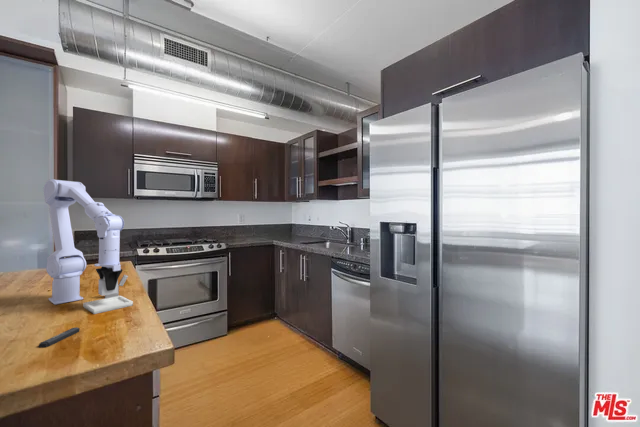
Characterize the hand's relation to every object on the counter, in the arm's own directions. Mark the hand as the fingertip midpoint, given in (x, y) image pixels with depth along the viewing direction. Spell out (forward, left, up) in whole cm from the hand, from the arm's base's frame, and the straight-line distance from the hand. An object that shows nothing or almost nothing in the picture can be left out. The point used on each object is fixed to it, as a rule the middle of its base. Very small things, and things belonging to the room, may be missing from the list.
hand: (108, 289), depth 97 cm
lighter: (-11, +6, -6) cm, 14 cm away
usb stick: (+20, -16, -7) cm, 26 cm away
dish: (0, 0, -6) cm, 6 cm away
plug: (0, 0, -1) cm, 1 cm away
